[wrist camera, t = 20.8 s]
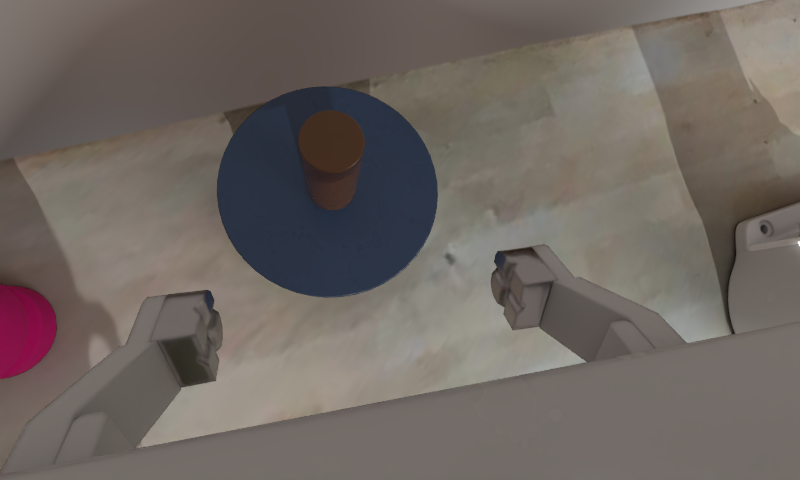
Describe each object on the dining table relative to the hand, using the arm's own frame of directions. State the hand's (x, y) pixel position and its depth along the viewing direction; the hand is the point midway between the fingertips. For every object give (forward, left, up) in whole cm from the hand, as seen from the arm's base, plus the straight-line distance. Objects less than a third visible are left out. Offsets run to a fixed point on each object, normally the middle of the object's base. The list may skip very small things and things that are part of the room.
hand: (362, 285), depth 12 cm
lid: (-2, -6, -12) cm, 14 cm away
